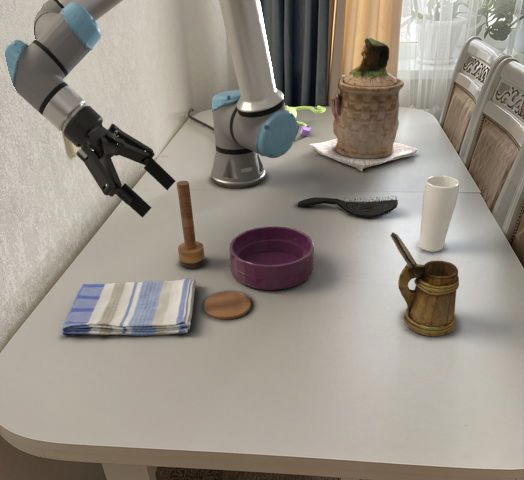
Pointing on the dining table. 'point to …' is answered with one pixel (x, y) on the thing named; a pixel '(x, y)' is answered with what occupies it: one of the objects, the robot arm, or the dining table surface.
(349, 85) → the cookie jar
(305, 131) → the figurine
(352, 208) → the hairbrush
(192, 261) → the dish brush
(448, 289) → the wooden mug
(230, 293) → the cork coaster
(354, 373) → the dining table surface
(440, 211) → the white tumbler
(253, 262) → the bowl
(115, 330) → the dish towel
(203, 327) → the dining table surface
